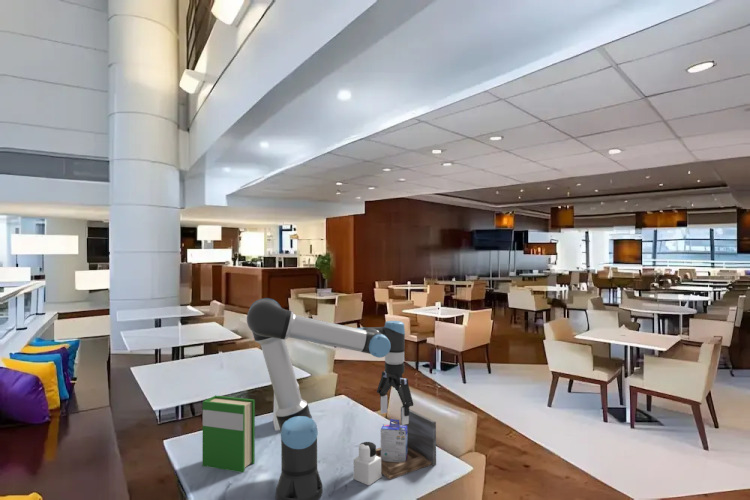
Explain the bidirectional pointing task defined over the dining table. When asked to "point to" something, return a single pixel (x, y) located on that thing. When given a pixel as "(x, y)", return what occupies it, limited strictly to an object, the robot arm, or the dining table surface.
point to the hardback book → (228, 433)
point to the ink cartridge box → (394, 442)
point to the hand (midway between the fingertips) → (394, 418)
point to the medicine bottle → (367, 464)
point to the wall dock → (414, 447)
